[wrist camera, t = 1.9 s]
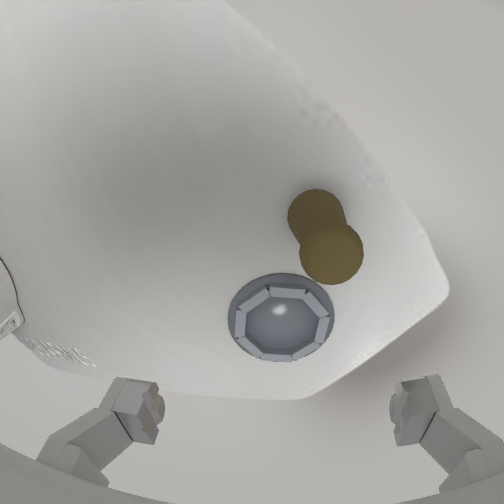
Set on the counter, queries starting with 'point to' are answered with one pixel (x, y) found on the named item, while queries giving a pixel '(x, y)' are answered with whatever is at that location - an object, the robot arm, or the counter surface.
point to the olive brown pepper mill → (325, 238)
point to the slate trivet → (281, 317)
